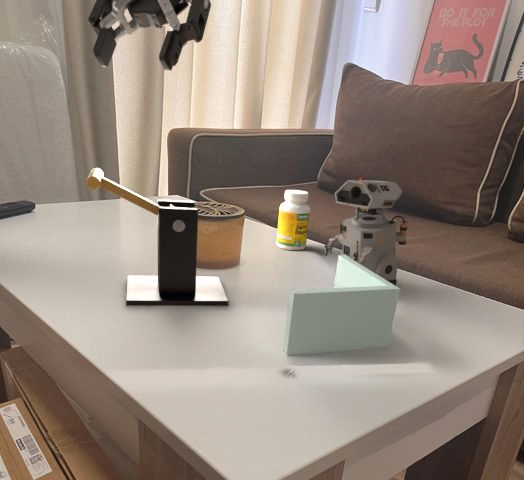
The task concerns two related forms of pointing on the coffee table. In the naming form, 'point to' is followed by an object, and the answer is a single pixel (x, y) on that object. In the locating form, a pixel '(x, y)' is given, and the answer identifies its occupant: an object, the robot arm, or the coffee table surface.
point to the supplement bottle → (293, 220)
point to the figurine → (370, 226)
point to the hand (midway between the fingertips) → (132, 63)
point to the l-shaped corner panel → (341, 312)
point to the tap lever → (120, 191)
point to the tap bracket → (176, 264)
